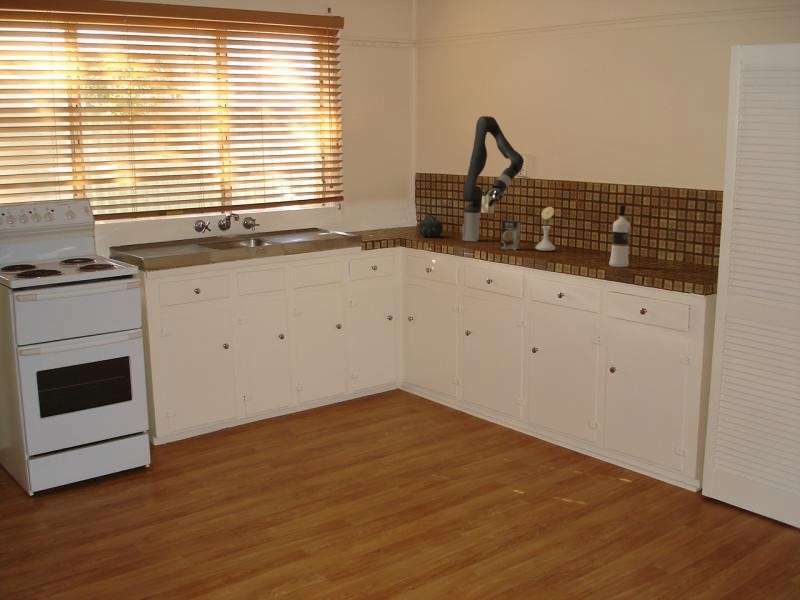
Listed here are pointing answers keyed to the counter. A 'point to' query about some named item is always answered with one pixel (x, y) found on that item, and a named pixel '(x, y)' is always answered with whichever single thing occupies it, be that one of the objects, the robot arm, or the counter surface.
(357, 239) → the counter surface
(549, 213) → the flower in vase
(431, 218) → the squash
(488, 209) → the maple block
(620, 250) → the vodka
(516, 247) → the coffee box
